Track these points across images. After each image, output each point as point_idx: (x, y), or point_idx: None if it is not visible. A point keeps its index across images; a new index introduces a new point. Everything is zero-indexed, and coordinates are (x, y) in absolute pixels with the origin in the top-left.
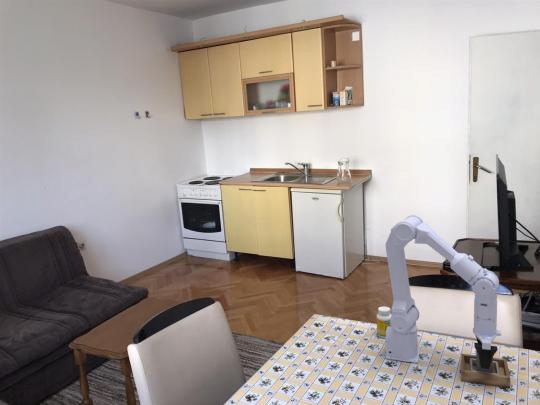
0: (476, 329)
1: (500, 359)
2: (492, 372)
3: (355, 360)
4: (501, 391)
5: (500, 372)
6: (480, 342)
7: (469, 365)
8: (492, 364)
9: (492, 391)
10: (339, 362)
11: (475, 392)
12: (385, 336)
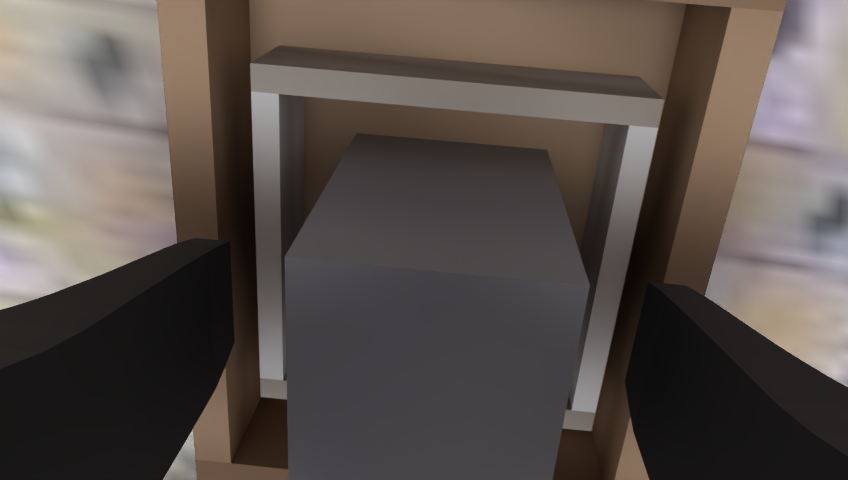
0: None
1: (194, 13)
2: (553, 174)
3: None
4: (807, 75)
5: (389, 22)
6: (132, 476)
7: None
8: (568, 227)
9: (807, 180)
10: None
11: (825, 350)
12: None
